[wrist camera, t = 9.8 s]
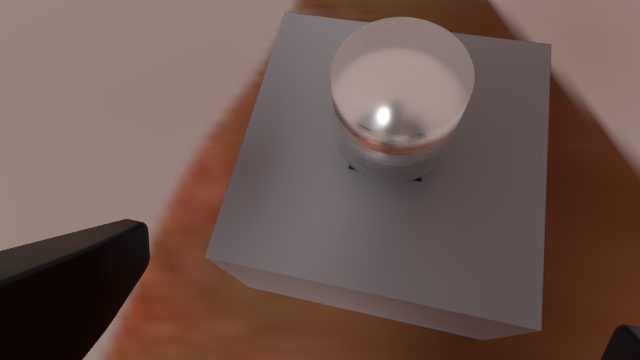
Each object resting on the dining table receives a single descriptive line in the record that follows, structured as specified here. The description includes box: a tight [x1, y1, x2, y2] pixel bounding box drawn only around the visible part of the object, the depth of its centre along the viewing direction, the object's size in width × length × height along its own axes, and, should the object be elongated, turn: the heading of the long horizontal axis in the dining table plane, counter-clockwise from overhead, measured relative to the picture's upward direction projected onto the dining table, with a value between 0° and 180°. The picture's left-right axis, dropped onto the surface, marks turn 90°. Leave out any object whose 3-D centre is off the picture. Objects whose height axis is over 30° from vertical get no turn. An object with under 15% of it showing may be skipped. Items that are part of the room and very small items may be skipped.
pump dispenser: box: [205, 13, 551, 340], centre depth 17 cm, size 10×10×6 cm
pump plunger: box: [331, 17, 475, 183], centre depth 15 cm, size 4×4×9 cm
